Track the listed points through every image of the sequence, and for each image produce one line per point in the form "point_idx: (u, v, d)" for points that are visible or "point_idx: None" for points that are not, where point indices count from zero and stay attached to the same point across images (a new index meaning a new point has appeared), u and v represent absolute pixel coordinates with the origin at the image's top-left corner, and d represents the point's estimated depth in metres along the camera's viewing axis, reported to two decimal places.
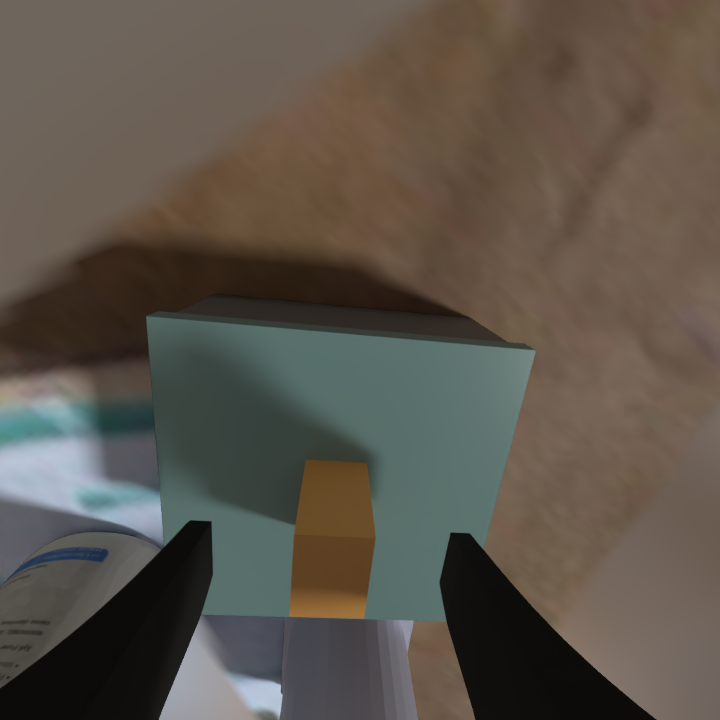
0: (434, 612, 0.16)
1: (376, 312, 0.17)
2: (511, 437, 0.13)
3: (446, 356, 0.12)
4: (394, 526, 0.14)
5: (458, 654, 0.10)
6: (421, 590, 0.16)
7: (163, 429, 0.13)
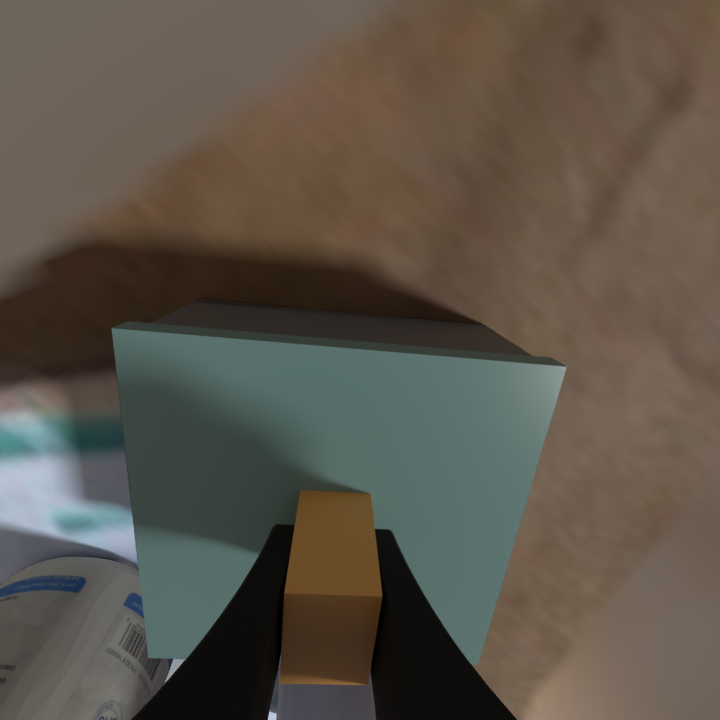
0: None
1: (380, 319, 0.15)
2: (535, 464, 0.12)
3: (463, 373, 0.11)
4: None
5: None
6: None
7: (135, 457, 0.11)
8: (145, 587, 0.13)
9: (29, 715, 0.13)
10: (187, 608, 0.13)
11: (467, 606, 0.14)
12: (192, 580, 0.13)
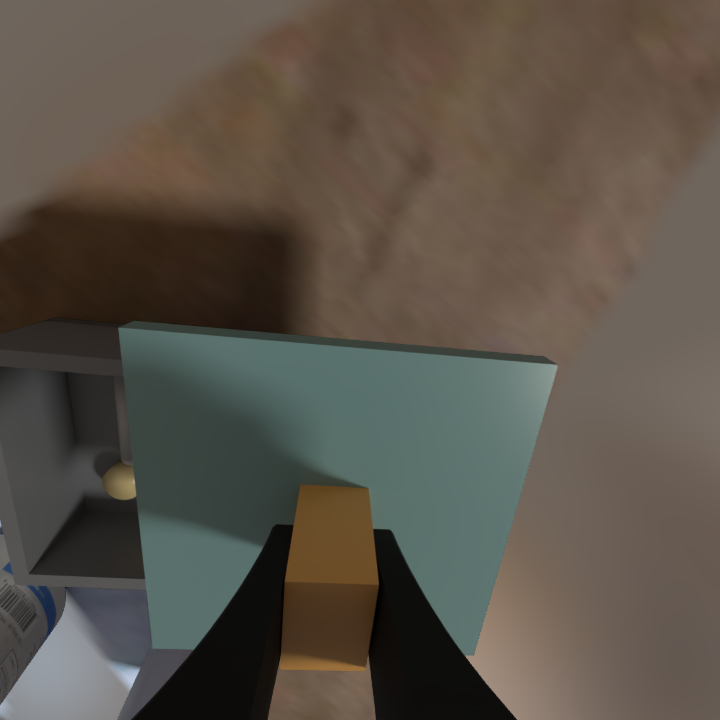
0: None
1: None
2: (528, 460, 0.12)
3: (457, 371, 0.11)
4: None
5: (369, 652, 0.10)
6: None
7: (141, 452, 0.11)
8: (149, 579, 0.13)
9: None
10: (190, 600, 0.13)
11: (462, 598, 0.14)
12: (195, 572, 0.13)
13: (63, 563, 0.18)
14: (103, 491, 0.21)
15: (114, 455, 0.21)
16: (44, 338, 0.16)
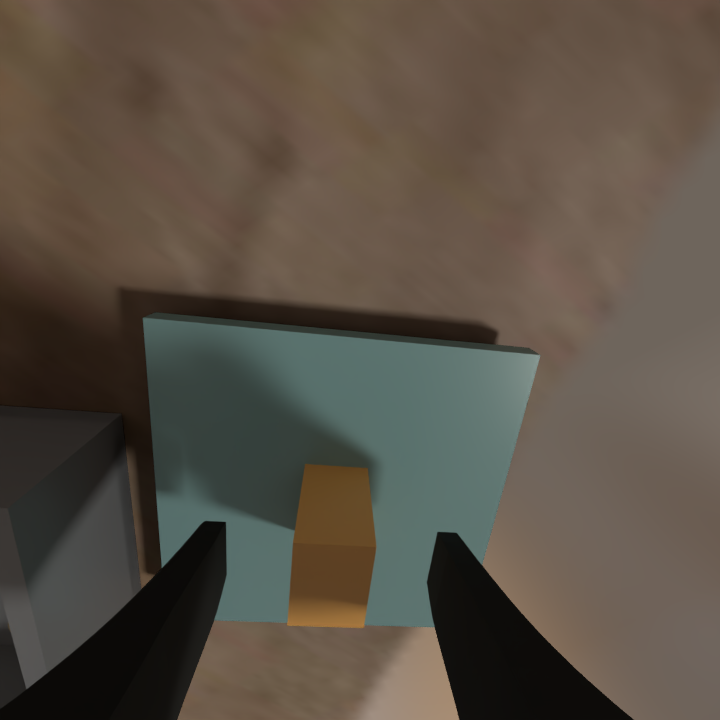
0: None
1: None
2: (514, 443, 0.13)
3: (449, 360, 0.12)
4: (394, 532, 0.14)
5: (443, 654, 0.10)
6: (421, 596, 0.15)
7: (160, 432, 0.12)
8: (165, 552, 0.14)
9: None
10: None
11: None
12: None
13: None
14: None
15: None
16: None
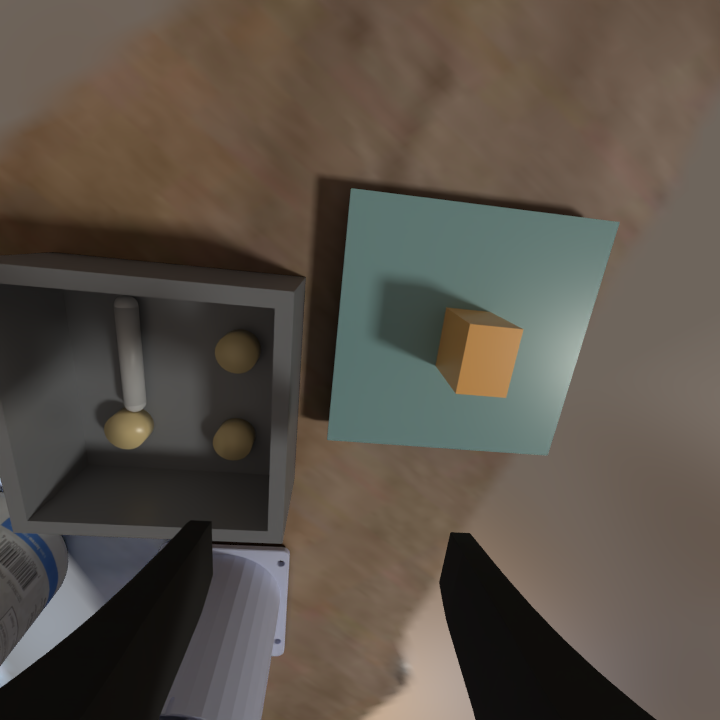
0: (525, 445, 0.21)
1: (205, 269, 0.18)
2: (596, 293, 0.18)
3: (556, 225, 0.17)
4: None
5: (458, 654, 0.10)
6: (518, 425, 0.20)
7: (348, 279, 0.17)
8: (336, 380, 0.19)
9: None
10: (360, 398, 0.19)
11: (543, 405, 0.20)
12: (367, 375, 0.19)
13: (63, 511, 0.17)
14: (105, 443, 0.20)
15: (117, 403, 0.20)
16: (40, 260, 0.15)
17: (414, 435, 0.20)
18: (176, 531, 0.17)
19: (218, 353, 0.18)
